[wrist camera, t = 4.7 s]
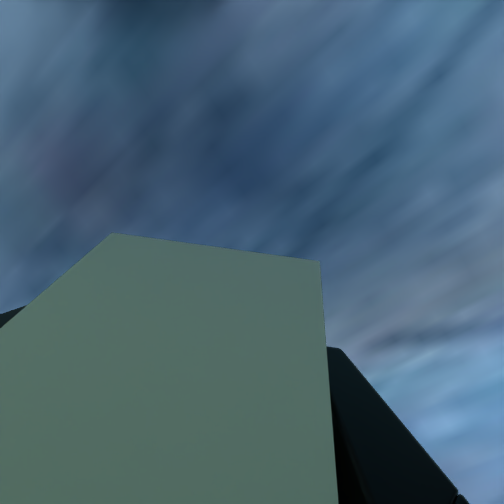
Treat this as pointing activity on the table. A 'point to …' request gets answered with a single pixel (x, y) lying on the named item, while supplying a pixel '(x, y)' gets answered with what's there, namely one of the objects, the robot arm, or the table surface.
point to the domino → (169, 381)
